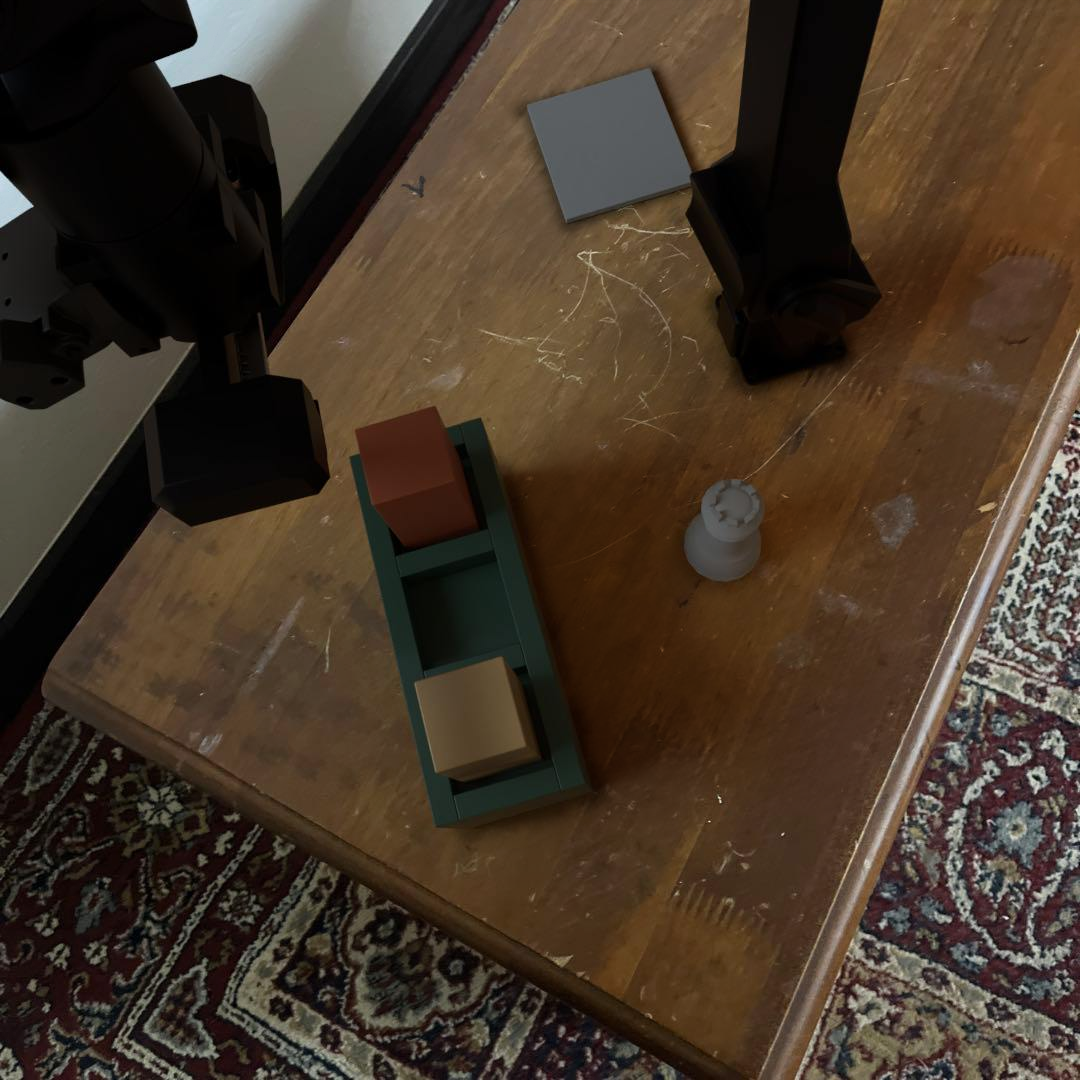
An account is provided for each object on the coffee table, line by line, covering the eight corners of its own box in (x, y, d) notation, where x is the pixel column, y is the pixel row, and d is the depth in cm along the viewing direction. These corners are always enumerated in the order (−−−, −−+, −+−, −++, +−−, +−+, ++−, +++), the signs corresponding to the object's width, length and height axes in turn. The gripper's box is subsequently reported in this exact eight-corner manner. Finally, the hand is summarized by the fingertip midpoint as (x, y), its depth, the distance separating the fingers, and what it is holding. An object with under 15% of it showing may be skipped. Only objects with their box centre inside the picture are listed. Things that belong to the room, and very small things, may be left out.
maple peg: (523, 684, 49) (502, 655, 41) (545, 761, 47) (527, 746, 40) (448, 706, 49) (413, 681, 41) (467, 784, 47) (435, 773, 40)
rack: (502, 474, 59) (480, 416, 51) (593, 792, 53) (585, 783, 45) (387, 508, 59) (348, 456, 51) (465, 829, 53) (434, 828, 45)
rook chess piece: (768, 523, 57) (789, 474, 49) (748, 593, 55) (766, 554, 48) (695, 502, 57) (704, 451, 50) (673, 571, 56) (679, 529, 49)
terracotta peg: (464, 467, 52) (435, 404, 45) (482, 534, 51) (455, 480, 44) (394, 488, 52) (353, 428, 45) (411, 555, 51) (371, 505, 44)
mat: (649, 72, 67) (650, 67, 67) (695, 185, 64) (695, 180, 64) (527, 109, 67) (526, 104, 67) (566, 224, 64) (566, 219, 64)
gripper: (-118, 19, 34) (111, 265, 49) (-110, 487, 29) (146, 607, 43) (178, -63, 34) (319, 210, 49) (247, 394, 28) (383, 546, 43)
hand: (287, 384), depth 46 cm, fingers open, 9 cm apart
